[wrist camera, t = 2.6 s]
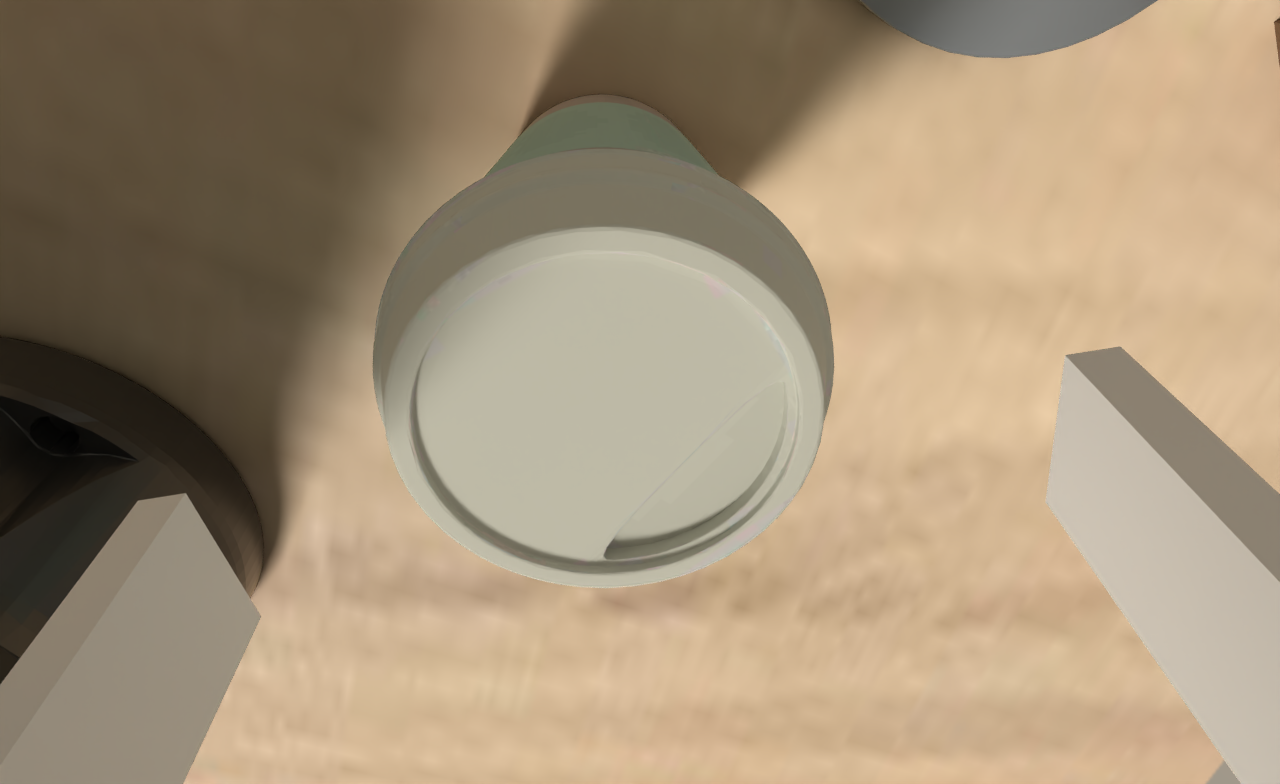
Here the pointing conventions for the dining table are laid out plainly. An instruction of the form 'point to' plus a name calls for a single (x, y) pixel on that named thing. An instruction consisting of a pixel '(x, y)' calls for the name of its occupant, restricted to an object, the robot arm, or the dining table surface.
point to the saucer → (1003, 23)
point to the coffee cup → (603, 356)
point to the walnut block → (1278, 36)
